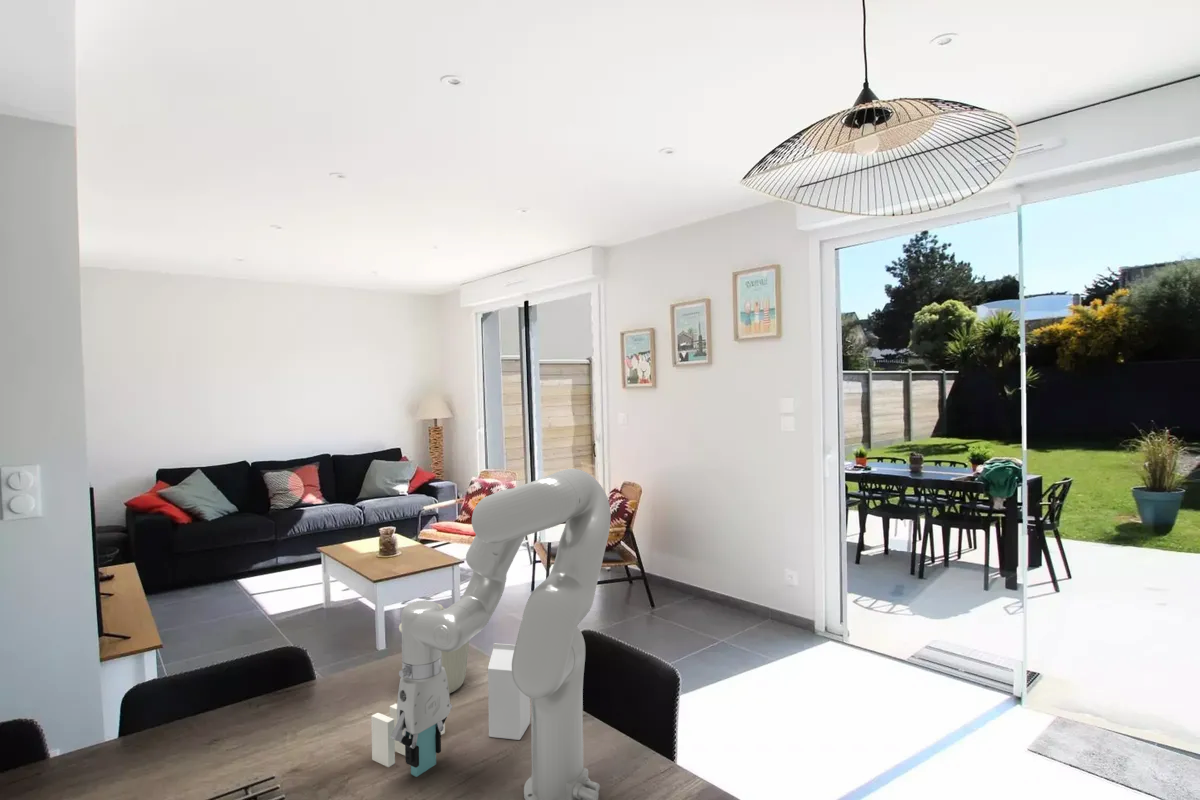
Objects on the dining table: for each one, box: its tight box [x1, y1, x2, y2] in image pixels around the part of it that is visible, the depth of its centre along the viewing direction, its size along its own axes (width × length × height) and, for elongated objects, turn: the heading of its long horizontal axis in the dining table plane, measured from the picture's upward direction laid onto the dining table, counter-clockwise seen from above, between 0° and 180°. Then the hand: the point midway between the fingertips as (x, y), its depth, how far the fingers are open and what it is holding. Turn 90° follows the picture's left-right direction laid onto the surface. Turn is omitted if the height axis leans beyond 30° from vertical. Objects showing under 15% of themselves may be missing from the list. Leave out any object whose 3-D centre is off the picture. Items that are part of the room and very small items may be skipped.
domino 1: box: [370, 712, 396, 768], centre depth 131 cm, size 5×2×9 cm, turn 57°
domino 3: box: [410, 724, 437, 778], centre depth 128 cm, size 5×2×9 cm, turn 147°
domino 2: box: [389, 702, 411, 757], centre depth 134 cm, size 5×2×9 cm, turn 57°
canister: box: [398, 603, 470, 694], centre depth 163 cm, size 18×18×21 cm
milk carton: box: [487, 642, 531, 741], centre depth 142 cm, size 7×7×19 cm
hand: (423, 756), depth 128 cm, fingers closed on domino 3, 4 cm apart
